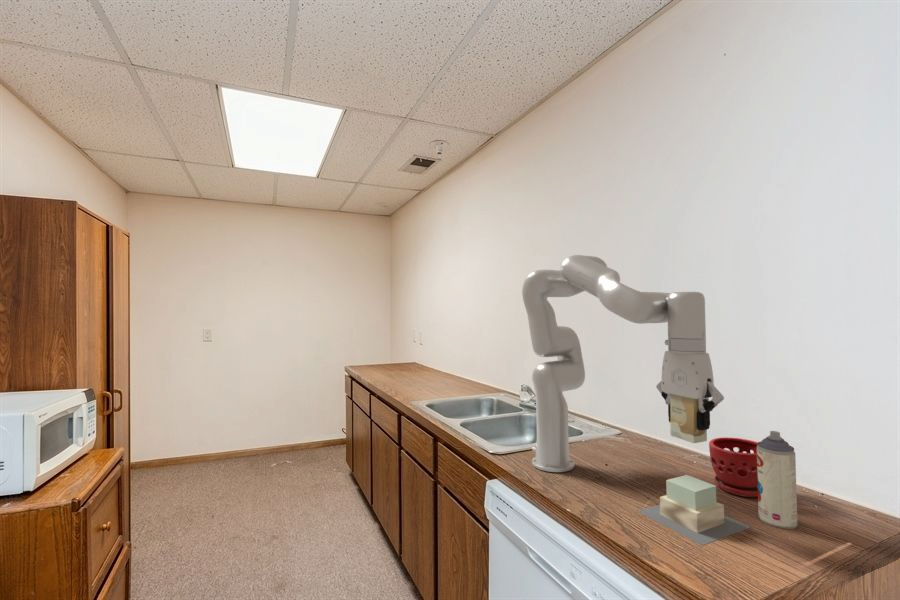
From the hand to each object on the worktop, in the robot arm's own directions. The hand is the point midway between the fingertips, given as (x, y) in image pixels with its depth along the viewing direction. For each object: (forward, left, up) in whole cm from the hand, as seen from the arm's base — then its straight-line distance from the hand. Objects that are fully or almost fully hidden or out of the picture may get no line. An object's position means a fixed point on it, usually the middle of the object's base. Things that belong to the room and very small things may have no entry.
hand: (688, 424), depth 96 cm
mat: (0, 0, -21) cm, 21 cm away
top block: (0, 0, -17) cm, 17 cm away
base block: (0, 0, -21) cm, 21 cm away
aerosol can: (+9, +16, -22) cm, 28 cm away
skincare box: (0, 0, -3) cm, 3 cm away
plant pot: (-5, +26, -22) cm, 34 cm away
